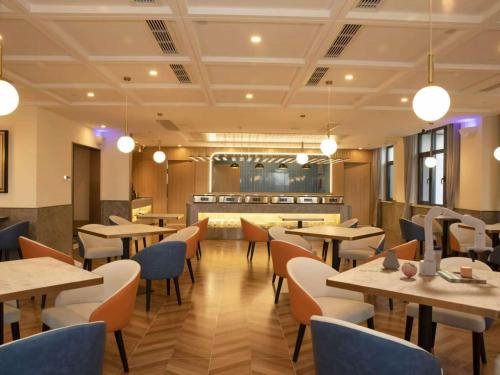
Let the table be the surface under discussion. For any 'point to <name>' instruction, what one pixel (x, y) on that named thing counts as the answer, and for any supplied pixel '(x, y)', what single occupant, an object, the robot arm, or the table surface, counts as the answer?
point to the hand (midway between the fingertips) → (479, 262)
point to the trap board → (461, 277)
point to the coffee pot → (389, 259)
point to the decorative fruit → (409, 269)
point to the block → (465, 271)
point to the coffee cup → (437, 255)
